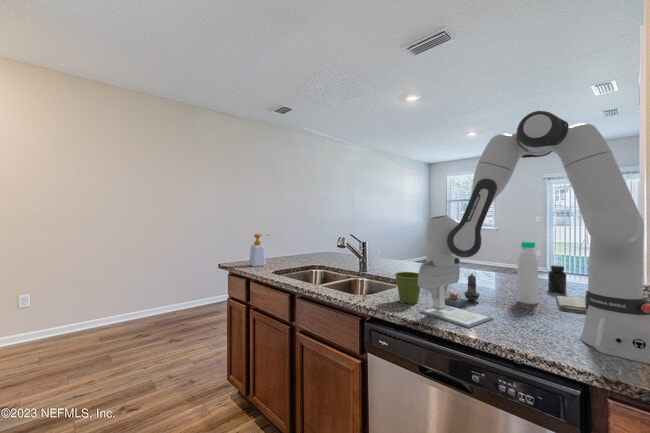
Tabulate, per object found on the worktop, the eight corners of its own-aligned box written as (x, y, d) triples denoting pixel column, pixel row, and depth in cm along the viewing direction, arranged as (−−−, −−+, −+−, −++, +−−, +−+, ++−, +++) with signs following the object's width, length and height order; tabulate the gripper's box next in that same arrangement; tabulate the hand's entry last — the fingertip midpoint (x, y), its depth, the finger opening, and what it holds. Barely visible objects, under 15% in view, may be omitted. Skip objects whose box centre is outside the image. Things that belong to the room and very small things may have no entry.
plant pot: (388, 301, 128) (388, 274, 127) (405, 296, 135) (405, 270, 135) (412, 308, 118) (412, 278, 118) (429, 302, 126) (429, 275, 126)
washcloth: (559, 311, 116) (559, 303, 116) (554, 300, 131) (554, 293, 131) (601, 317, 109) (601, 309, 109) (591, 305, 125) (591, 297, 125)
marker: (444, 309, 112) (445, 280, 112) (439, 310, 110) (439, 281, 110) (437, 307, 114) (437, 278, 114) (431, 308, 113) (432, 280, 112)
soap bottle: (272, 265, 213) (272, 233, 213) (252, 267, 206) (252, 234, 206) (267, 263, 221) (267, 232, 221) (248, 265, 215) (248, 233, 214)
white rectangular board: (493, 319, 106) (493, 317, 106) (469, 328, 97) (469, 325, 97) (444, 305, 121) (444, 303, 121) (419, 312, 113) (419, 310, 113)
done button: (460, 302, 122) (460, 293, 122) (455, 303, 120) (455, 294, 120) (452, 300, 125) (452, 291, 125) (447, 301, 123) (447, 292, 123)
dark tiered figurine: (481, 304, 123) (481, 274, 123) (465, 303, 124) (466, 274, 124) (477, 300, 129) (477, 272, 128) (462, 299, 130) (462, 271, 130)
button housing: (465, 305, 122) (465, 299, 122) (456, 308, 118) (456, 301, 118) (451, 301, 127) (451, 295, 127) (442, 304, 123) (442, 298, 123)
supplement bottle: (544, 290, 146) (544, 265, 146) (554, 289, 148) (555, 264, 148) (559, 294, 140) (559, 267, 140) (570, 292, 142) (570, 267, 142)
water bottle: (517, 299, 131) (517, 240, 131) (537, 301, 128) (537, 241, 127) (517, 303, 125) (518, 241, 125) (538, 305, 121) (539, 242, 121)
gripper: (428, 263, 103) (428, 304, 103) (463, 258, 115) (462, 295, 115) (413, 261, 109) (413, 300, 109) (447, 256, 120) (447, 291, 120)
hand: (438, 297), depth 112 cm, fingers closed on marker, 3 cm apart
